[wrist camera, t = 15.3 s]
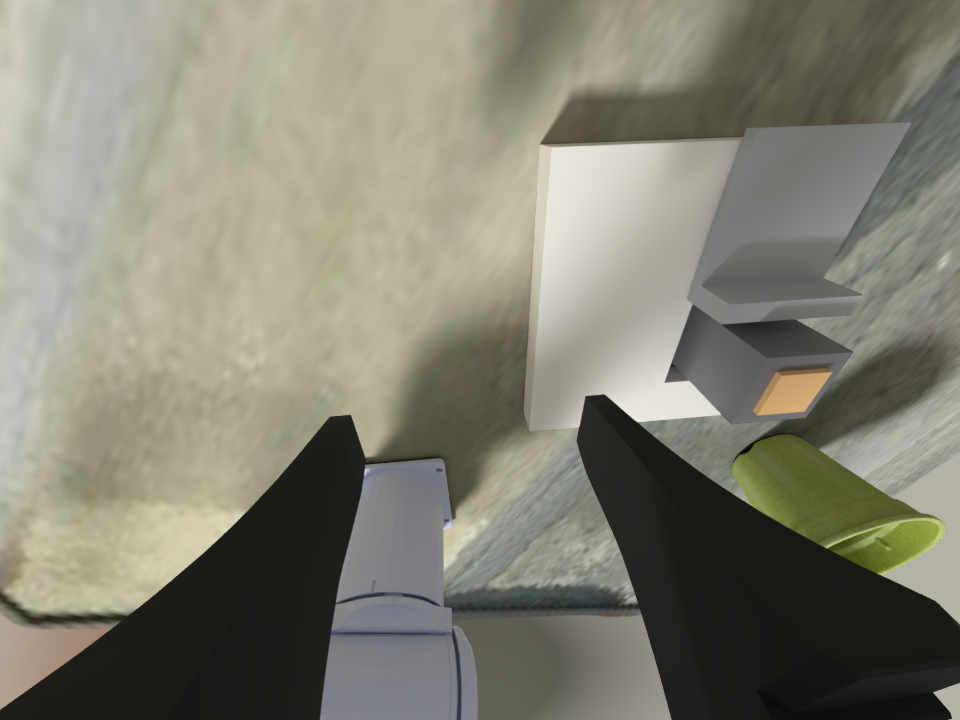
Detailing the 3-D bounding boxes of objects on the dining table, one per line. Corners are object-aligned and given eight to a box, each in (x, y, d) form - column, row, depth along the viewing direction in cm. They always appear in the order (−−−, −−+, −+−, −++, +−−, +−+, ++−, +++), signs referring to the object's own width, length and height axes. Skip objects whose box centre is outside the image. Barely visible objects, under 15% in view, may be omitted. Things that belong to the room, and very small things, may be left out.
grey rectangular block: (725, 352, 22) (811, 422, 17) (666, 356, 22) (735, 428, 17) (752, 295, 20) (860, 355, 15) (686, 299, 20) (773, 362, 14)
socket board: (724, 393, 25) (744, 412, 23) (523, 410, 24) (529, 431, 23) (856, 132, 16) (904, 133, 14) (540, 144, 15) (551, 147, 13)
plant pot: (715, 437, 28) (808, 544, 21) (837, 404, 27) (977, 504, 20) (707, 498, 33) (779, 600, 26) (808, 472, 32) (912, 571, 25)
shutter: (802, 291, 18) (851, 315, 16) (686, 299, 18) (721, 324, 16) (895, 122, 14) (981, 122, 12) (746, 128, 14) (805, 129, 11)
